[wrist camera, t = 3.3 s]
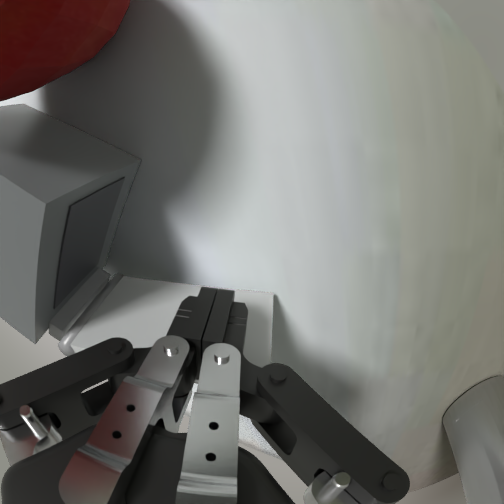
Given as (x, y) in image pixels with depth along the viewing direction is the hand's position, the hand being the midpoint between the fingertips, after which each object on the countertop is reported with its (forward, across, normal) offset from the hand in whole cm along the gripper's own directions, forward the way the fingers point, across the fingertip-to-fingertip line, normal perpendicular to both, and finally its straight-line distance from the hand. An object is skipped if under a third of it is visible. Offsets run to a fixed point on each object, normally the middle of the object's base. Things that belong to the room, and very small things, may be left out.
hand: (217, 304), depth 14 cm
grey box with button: (+5, +12, -4) cm, 14 cm away
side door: (+5, +3, +2) cm, 6 cm away
